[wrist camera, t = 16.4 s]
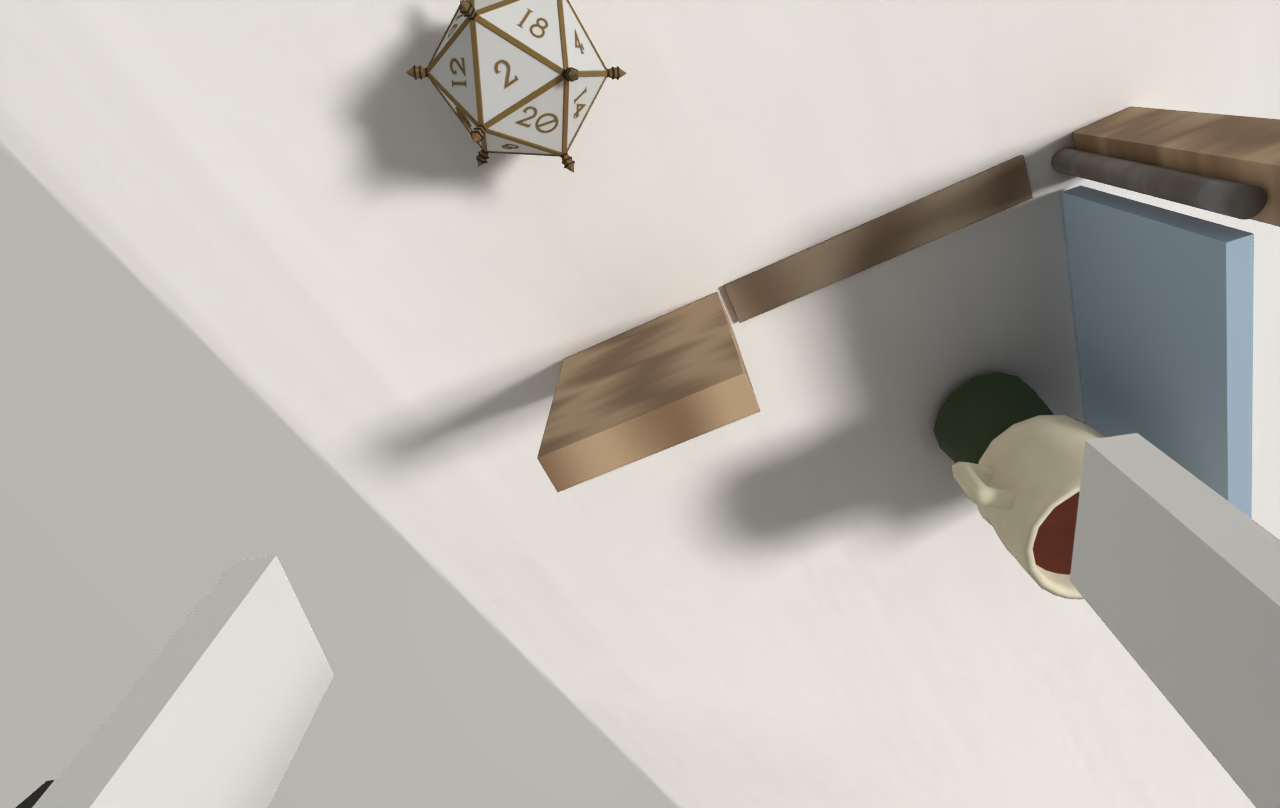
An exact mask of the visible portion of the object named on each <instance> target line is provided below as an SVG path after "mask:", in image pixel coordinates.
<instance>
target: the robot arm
mask: <svg viewBox="0 0 1280 808" xmlns="http://www.w3.org/2000/svg"><path fill="white" fill-rule="evenodd" d="M1070 582H1071V583H1072V584H1073V585H1074V587H1075V588H1076V589H1077V590H1078V592H1079V593H1080V594H1081V595H1082V596H1083V598H1084V599H1085V600H1086V601H1087V603H1088V604H1089V605H1090V606H1091V607H1092V609H1093V610H1094V611H1095V612H1096V613H1097V615H1098V616H1099V617H1100V618H1101V620H1102V621H1103V622H1104V623H1105V624H1106V626H1107V627H1108V628H1109V629H1110V630H1111V632H1112V633H1113V634H1114V635H1115V637H1116V638H1117V639H1118V640H1119V641H1120V643H1121V644H1122V645H1123V646H1124V647H1125V649H1126V650H1127V651H1128V652H1129V654H1130V655H1131V656H1132V657H1133V658H1134V660H1135V661H1136V662H1137V663H1138V664H1139V666H1140V667H1141V668H1142V669H1143V671H1144V672H1145V673H1146V674H1147V675H1148V677H1149V678H1150V679H1151V680H1152V681H1153V683H1154V684H1155V685H1156V686H1157V688H1158V689H1159V690H1160V691H1161V692H1162V694H1163V695H1164V696H1165V697H1166V698H1167V700H1168V701H1169V702H1170V703H1171V705H1172V706H1173V707H1174V708H1175V709H1176V711H1177V712H1178V713H1179V714H1180V715H1181V717H1182V718H1183V719H1184V720H1185V722H1186V723H1187V724H1188V725H1189V726H1190V728H1191V729H1192V730H1193V731H1194V733H1195V734H1196V735H1197V736H1198V737H1199V739H1200V740H1201V741H1202V742H1203V743H1204V745H1205V746H1206V747H1207V748H1208V750H1209V751H1210V752H1211V753H1212V754H1213V756H1214V757H1215V758H1216V759H1217V760H1218V762H1219V763H1220V764H1221V765H1222V767H1223V768H1224V769H1225V770H1226V771H1227V773H1228V774H1229V775H1230V776H1231V777H1232V779H1233V780H1234V781H1235V782H1236V784H1237V785H1238V786H1239V787H1240V788H1241V790H1242V791H1243V792H1244V793H1245V794H1246V796H1247V797H1248V798H1249V799H1250V801H1251V802H1252V803H1253V804H1254V805H1255V807H1256V808H1280V540H1279V539H1278V538H1276V537H1275V536H1274V535H1272V534H1271V533H1270V532H1268V531H1267V530H1266V529H1264V528H1263V527H1262V526H1260V525H1259V524H1258V523H1256V522H1255V521H1254V520H1252V519H1251V518H1250V517H1248V516H1247V515H1246V514H1244V513H1243V512H1242V511H1240V510H1239V509H1238V508H1236V507H1235V506H1234V505H1232V504H1231V503H1230V502H1228V501H1227V500H1226V499H1224V498H1223V497H1222V496H1220V495H1219V494H1218V493H1216V492H1215V491H1214V490H1212V489H1211V488H1210V487H1208V486H1207V485H1206V484H1204V483H1203V482H1202V481H1200V480H1199V479H1198V478H1196V477H1195V476H1194V475H1192V474H1191V473H1190V472H1189V471H1187V470H1186V469H1185V468H1183V467H1182V466H1181V465H1179V464H1178V463H1177V462H1175V461H1174V460H1173V459H1171V458H1170V457H1169V456H1167V455H1166V454H1165V453H1163V452H1162V451H1161V450H1159V449H1158V448H1157V447H1155V446H1154V445H1153V444H1151V443H1150V442H1149V441H1147V440H1146V439H1145V438H1143V437H1142V436H1141V435H1139V434H1138V433H1133V434H1126V435H1119V436H1112V437H1105V438H1098V439H1091V440H1085V449H1084V458H1083V467H1082V476H1081V484H1080V493H1079V502H1078V511H1077V520H1076V529H1075V538H1074V546H1073V555H1072V564H1071V573H1070ZM333 676H334V674H333V672H332V670H331V668H330V666H329V664H328V662H327V660H326V658H325V655H324V653H323V651H322V649H321V647H320V645H319V643H318V641H317V639H316V637H315V635H314V633H313V631H312V629H311V626H310V625H309V622H308V620H307V618H306V616H305V614H304V612H303V610H302V608H301V606H300V604H299V602H298V600H297V597H296V595H295V593H294V591H293V589H292V587H291V585H290V583H289V581H288V579H287V577H286V575H285V573H284V570H283V569H282V566H281V564H280V562H279V560H278V558H277V556H276V555H275V556H268V557H262V558H254V559H247V560H240V561H233V562H232V563H231V565H230V566H229V567H228V568H227V570H226V571H225V572H224V573H223V574H222V576H221V577H220V578H219V579H218V581H217V582H216V583H215V584H214V586H213V587H212V588H211V589H210V590H209V592H208V593H207V594H206V595H205V596H204V598H203V599H202V600H201V601H200V603H199V604H198V605H197V606H196V608H195V609H194V610H193V611H192V612H191V614H190V615H189V616H188V617H187V619H186V620H185V621H184V622H183V623H182V625H181V626H180V627H179V628H178V630H177V631H176V632H175V633H174V635H173V636H172V637H171V638H170V639H169V641H168V642H167V643H166V644H165V646H164V647H163V648H162V649H161V650H160V652H159V653H158V654H157V655H156V656H155V658H154V659H153V660H152V662H151V663H150V664H149V665H148V666H147V667H146V669H145V670H144V671H143V673H142V674H141V675H140V676H139V677H138V679H137V680H136V681H135V682H134V683H133V685H132V686H131V687H130V688H129V690H128V691H127V692H126V694H124V696H123V697H122V698H121V699H120V701H119V702H118V703H117V704H116V706H115V707H114V708H113V709H112V710H111V712H110V713H109V714H108V715H107V717H106V718H105V719H104V720H103V721H102V723H101V724H100V725H99V726H98V728H97V729H96V730H95V731H94V732H93V734H92V735H91V736H90V737H89V739H88V740H87V741H86V742H85V743H84V745H83V746H82V747H81V748H80V750H79V751H78V752H77V753H76V755H75V756H74V757H73V758H72V759H71V761H70V762H69V763H68V764H67V766H66V767H65V768H64V769H63V771H62V772H61V773H60V774H59V775H58V777H57V778H56V779H55V780H51V781H46V782H45V783H44V784H43V785H42V786H40V787H39V788H38V789H37V790H36V791H35V792H33V793H32V794H31V795H30V796H29V797H28V798H26V799H25V800H24V801H23V802H22V803H21V804H19V805H18V806H17V807H16V808H267V807H268V806H269V804H270V801H271V800H272V798H273V796H274V794H275V792H276V790H277V788H278V786H279V784H280V782H281V780H282V778H283V776H284V774H285V772H286V770H287V768H288V766H289V764H290V762H291V760H292V758H293V756H294V754H295V752H296V750H297V748H298V746H299V744H300V742H301V740H302V738H303V735H304V734H305V732H306V730H307V728H308V726H309V724H310V722H311V720H312V718H313V716H314V714H315V712H316V710H317V708H318V706H319V704H320V702H321V700H322V698H323V695H324V694H325V692H326V690H327V688H328V686H329V684H330V682H331V680H332V678H333Z"/></svg>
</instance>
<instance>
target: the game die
mask: <svg viewBox="0 0 1280 808" xmlns="http://www.w3.org/2000/svg"><path fill="white" fill-rule="evenodd" d="M406 73H407V74H409V75H411V76H412V77H414V78H415V80H417V78H421V79H422V78H424V77H428V78H429V79H430V80H431V82H432V83H433V84H434V86H435V87H436V88H437V90H438V91H439V92H440V94H441V95H442V96H443V98H444V99H445V101H446V102H447V103H448V105H449V106H450V107H451V109H452V110H453V111H454V113H455V114H456V115H457V117H458V118H459V119H460V121H461V122H462V123H463V125H464V126H465V127H466V129H467V130H468V131H469V133H470V134H471V136H472V139H473V142H477V143H478V145H479V146H480V147H481V149H482V150H481V151H480V152H479V155H478V156H477V160H478V167H479V166H481V165H482V164H484V163H487V159H488V158H489V157H488V153H489V152H490V153H508V154H526V155H544V156H560V157H561V158H562V164H564V166H565V167H564V168H567V169H569V170H570V171H572V172H574V163H575V162H574V161H573V160H572V157H570V156H569V155H568V154H567V152H568V150H569V148H570V146H571V144H572V142H573V140H574V139H575V137H576V135H577V133H578V131H579V129H580V127H581V125H582V123H583V121H584V120H585V118H586V116H587V114H588V112H589V110H590V108H591V106H592V104H593V102H594V100H595V99H596V97H597V95H598V93H599V91H600V89H601V87H602V85H603V83H604V81H605V80H606V78H607V77H610V78H612V79H614V78H616V79H617V80H618V79H619V78H620V77H622V76H623V75H625V74H626V72H624V71H623V70H621V69H620V68H619V67H618V66H617V68H614V67H612V68H611V69H606V67H605V65H604V63H603V61H602V60H601V58H600V56H599V54H598V52H597V51H596V49H595V47H594V45H593V43H592V42H591V40H590V38H589V36H588V34H587V33H586V31H585V29H584V27H583V25H582V24H581V22H580V20H579V18H578V17H577V15H576V13H575V11H574V9H573V8H572V6H571V4H570V2H569V0H460V5H459V7H458V9H457V11H456V13H455V15H454V17H453V19H452V21H451V23H450V25H449V27H448V29H447V30H446V32H445V34H444V36H443V38H442V40H441V42H440V44H439V46H438V48H437V50H436V52H435V54H434V55H433V57H432V59H431V61H430V63H429V65H428V67H427V68H422V67H421V66H419V67H415V66H414V67H413V68H412V69H410V70H409V71H407V72H406Z"/></svg>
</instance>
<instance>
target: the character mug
mask: <svg viewBox="0 0 1280 808" xmlns="http://www.w3.org/2000/svg"><path fill="white" fill-rule="evenodd" d="M934 432H935V435H936V438H937V441H938V443H939V446H940V448H941V449H942V450H943V451H944V452H945V453H946V454H947V455H948V456H949V457H950V458H951V459H952V460H953V461H954V462H955V463H956V464H954V465H953V466H952V472H953V478H954V479H955V480H956V482H957V483H958V484H959V486H960V487H961V488H962V490H963V491H964V492H965V494H966V495H967V496H968V498H969V499H971V500H972V501H973V502H974V503H976V504H977V506H978V509H979V512H980V514H981V515H982V517H983V518H984V519H985V520H986V521H987V522H988V523H989V524H990V525H992V526H993V527H994V529H995V531H996V533H997V535H998V537H999V538H1000V540H1001V541H1002V543H1003V544H1004V546H1005V547H1006V549H1007V550H1008V551H1009V552H1010V553H1011V554H1012V555H1013V556H1014V557H1015V558H1016V559H1017V561H1018V562H1019V563H1020V565H1021V566H1022V567H1023V568H1024V569H1025V570H1026V572H1027V573H1028V574H1029V575H1030V576H1031V577H1032V578H1033V579H1034V581H1035V582H1036V583H1037V584H1038V585H1039V586H1040V587H1041V588H1042V589H1044V590H1046V591H1048V592H1050V593H1052V594H1054V595H1056V596H1060V597H1063V598H1068V599H1084V598H1083V596H1082V595H1081V594H1080V593H1079V592H1078V590H1077V589H1076V588H1075V587H1074V585H1073V584H1072V583H1071V582H1070V573H1071V564H1072V555H1073V546H1074V538H1075V529H1076V520H1077V511H1078V502H1079V493H1080V484H1081V476H1082V467H1083V458H1084V449H1085V440H1091V439H1098V438H1105V437H1104V436H1103V435H1102V434H1100V433H1099V432H1098V431H1097V430H1095V429H1094V428H1092V427H1090V426H1088V425H1086V424H1084V423H1082V422H1080V421H1078V420H1075V419H1073V418H1071V417H1069V416H1067V415H1054V414H1053V413H1052V412H1051V410H1050V409H1049V408H1048V406H1047V405H1046V404H1045V403H1044V402H1043V400H1042V399H1041V398H1040V397H1039V396H1038V395H1037V394H1036V392H1035V391H1034V390H1033V389H1031V388H1030V387H1029V386H1028V385H1027V384H1026V383H1024V382H1023V381H1022V380H1021V379H1020V378H1018V377H1017V376H1012V375H1007V374H1002V373H997V372H994V373H991V374H987V375H983V376H979V377H975V378H972V379H971V380H969V381H968V382H966V383H965V384H964V385H962V386H961V387H960V388H958V389H957V390H955V391H954V392H953V393H952V394H951V395H950V397H949V398H948V399H947V401H946V402H945V404H944V405H943V407H942V408H941V409H940V411H939V413H938V416H937V420H936V424H935V427H934Z"/></svg>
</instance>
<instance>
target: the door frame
mask: <svg viewBox="0 0 1280 808" xmlns="http://www.w3.org/2000/svg"><path fill="white" fill-rule="evenodd" d="M1072 133H1073V138H1074V144H1075V149H1076V150H1074V149H1069V148H1063V149H1061V150H1059V151H1057V152H1056V153H1055V155H1054V156H1053V158H1052V167H1053V169H1054V170H1056V171H1058V172H1062V173H1066V174H1069V175H1073V176H1077V177H1081V178H1085V179H1089V180H1093V181H1096V182H1100V183H1104V184H1108V185H1112V186H1116V187H1119V188H1123V189H1127V190H1131V191H1135V192H1139V193H1142V194H1146V195H1150V196H1154V197H1158V198H1162V199H1166V200H1169V201H1173V202H1177V203H1181V204H1185V205H1189V206H1192V207H1196V208H1200V209H1204V210H1208V211H1212V212H1215V213H1219V214H1223V215H1227V216H1231V217H1235V218H1239V219H1252V220H1256V221H1260V222H1264V223H1268V224H1272V225H1275V226H1279V227H1280V120H1278V119H1267V118H1255V117H1244V116H1233V115H1221V114H1210V113H1199V112H1187V111H1176V110H1165V109H1153V108H1142V107H1129V108H1127V109H1125V110H1122V111H1120V112H1118V113H1116V114H1113V115H1111V116H1109V117H1106V118H1104V119H1102V120H1100V121H1097V122H1095V123H1093V124H1090V125H1088V126H1086V127H1084V128H1081V129H1079V130H1077V131H1075V132H1072ZM1032 198H1033V197H1032V192H1031V188H1030V183H1029V179H1028V174H1027V170H1026V165H1025V161H1024V156H1022V155H1020V156H1018V157H1015V158H1013V159H1011V160H1008V161H1006V162H1004V163H1002V164H999V165H997V166H995V167H992V168H990V169H988V170H986V171H983V172H981V173H979V174H977V175H974V176H972V177H970V178H967V179H965V180H963V181H961V182H958V183H956V184H954V185H951V186H949V187H947V188H945V189H942V190H940V191H938V192H936V193H933V194H931V195H929V196H926V197H924V198H922V199H920V200H917V201H915V202H913V203H910V204H908V205H906V206H904V207H901V208H899V209H897V210H894V211H892V212H890V213H888V214H885V215H883V216H881V217H879V218H876V219H874V220H872V221H869V222H867V223H865V224H863V225H860V226H858V227H856V228H853V229H851V230H849V231H847V232H844V233H842V234H840V235H838V236H835V237H833V238H831V239H828V240H826V241H824V242H822V243H819V244H817V245H815V246H812V247H810V248H808V249H806V250H803V251H801V252H799V253H797V254H794V255H792V256H790V257H787V258H785V259H783V260H781V261H778V262H776V263H774V264H771V265H769V266H767V267H765V268H762V269H760V270H758V271H755V272H753V273H751V274H749V275H746V276H744V277H742V278H740V279H737V280H735V281H733V282H730V283H728V284H726V285H724V287H725V289H726V291H727V294H728V296H729V299H730V301H731V303H732V306H733V308H734V310H735V313H736V315H737V317H738V320H739V322H740V323H741V322H743V321H746V320H748V319H750V318H753V317H755V316H758V315H760V314H762V313H765V312H767V311H769V310H772V309H774V308H776V307H779V306H781V305H783V304H786V303H788V302H790V301H793V300H795V299H797V298H800V297H802V296H804V295H807V294H809V293H811V292H814V291H816V290H818V289H821V288H823V287H825V286H828V285H830V284H833V283H835V282H837V281H840V280H842V279H844V278H847V277H849V276H851V275H854V274H856V273H858V272H861V271H863V270H865V269H868V268H870V267H872V266H875V265H877V264H879V263H882V262H884V261H886V260H889V259H891V258H893V257H896V256H898V255H901V254H903V253H905V252H908V251H910V250H912V249H915V248H917V247H919V246H922V245H924V244H926V243H929V242H931V241H933V240H936V239H938V238H940V237H943V236H945V235H947V234H950V233H952V232H954V231H957V230H959V229H961V228H964V227H966V226H969V225H971V224H973V223H976V222H978V221H980V220H983V219H985V218H987V217H990V216H992V215H994V214H997V213H999V212H1001V211H1004V210H1006V209H1008V208H1011V207H1013V206H1015V205H1018V204H1020V203H1022V202H1025V201H1027V200H1029V199H1032ZM757 412H760V409H759V406H758V403H757V400H756V397H755V394H754V391H753V388H752V385H751V382H750V379H749V376H748V373H747V370H746V367H745V364H744V361H743V358H742V356H741V353H740V350H739V347H738V344H737V341H736V338H735V335H734V332H733V329H732V326H731V323H730V320H729V318H728V316H727V313H726V311H725V309H724V306H723V304H722V302H721V299H720V297H719V295H718V292H716V293H714V294H711V295H709V296H707V297H704V298H702V299H700V300H698V301H695V302H693V303H691V304H688V305H686V306H684V307H682V308H679V309H677V310H675V311H672V312H670V313H668V314H666V315H663V316H661V317H659V318H656V319H654V320H652V321H650V322H647V323H645V324H643V325H640V326H638V327H636V328H634V329H631V330H629V331H627V332H625V333H622V334H620V335H618V336H615V337H613V338H611V339H609V340H606V341H604V342H602V343H599V344H597V345H595V346H593V347H590V348H588V349H586V350H583V351H581V352H579V353H577V354H574V355H572V356H570V357H567V358H565V359H564V360H563V364H562V367H561V371H560V375H559V379H558V382H557V386H556V390H555V394H554V397H553V401H552V405H551V409H550V412H549V416H548V420H547V424H546V427H545V431H544V435H543V439H542V442H541V446H540V450H539V454H538V457H537V459H538V460H539V462H540V464H541V465H542V467H543V469H544V470H545V472H546V474H547V475H548V477H549V479H550V480H551V482H552V484H553V485H554V487H555V489H556V490H557V492H560V491H562V490H565V489H567V488H570V487H572V486H575V485H577V484H580V483H582V482H585V481H587V480H590V479H592V478H595V477H597V476H600V475H602V474H605V473H607V472H610V471H612V470H615V469H617V468H620V467H622V466H625V465H627V464H630V463H632V462H635V461H637V460H640V459H642V458H645V457H647V456H650V455H652V454H655V453H657V452H660V451H662V450H665V449H667V448H670V447H672V446H675V445H677V444H680V443H682V442H685V441H687V440H690V439H692V438H695V437H697V436H700V435H702V434H705V433H707V432H710V431H712V430H715V429H717V428H720V427H722V426H725V425H727V424H730V423H732V422H735V421H737V420H740V419H742V418H745V417H747V416H750V415H752V414H755V413H757Z"/></svg>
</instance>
